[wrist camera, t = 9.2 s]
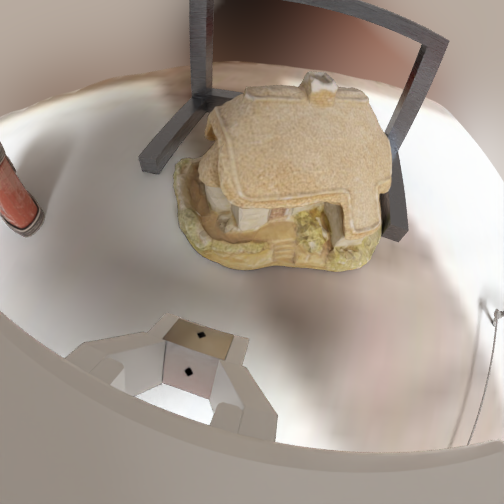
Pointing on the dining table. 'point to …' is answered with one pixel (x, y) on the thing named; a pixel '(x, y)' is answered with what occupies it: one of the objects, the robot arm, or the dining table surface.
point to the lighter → (17, 201)
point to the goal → (209, 97)
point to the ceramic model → (288, 179)
